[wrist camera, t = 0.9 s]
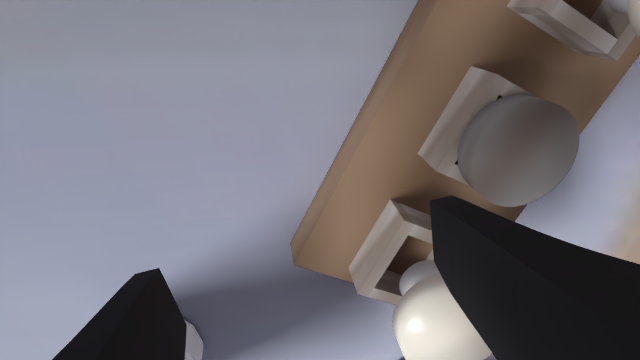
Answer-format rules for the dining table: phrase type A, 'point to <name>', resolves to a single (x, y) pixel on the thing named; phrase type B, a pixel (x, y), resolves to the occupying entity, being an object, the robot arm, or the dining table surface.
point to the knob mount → (461, 128)
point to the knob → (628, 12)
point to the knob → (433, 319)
